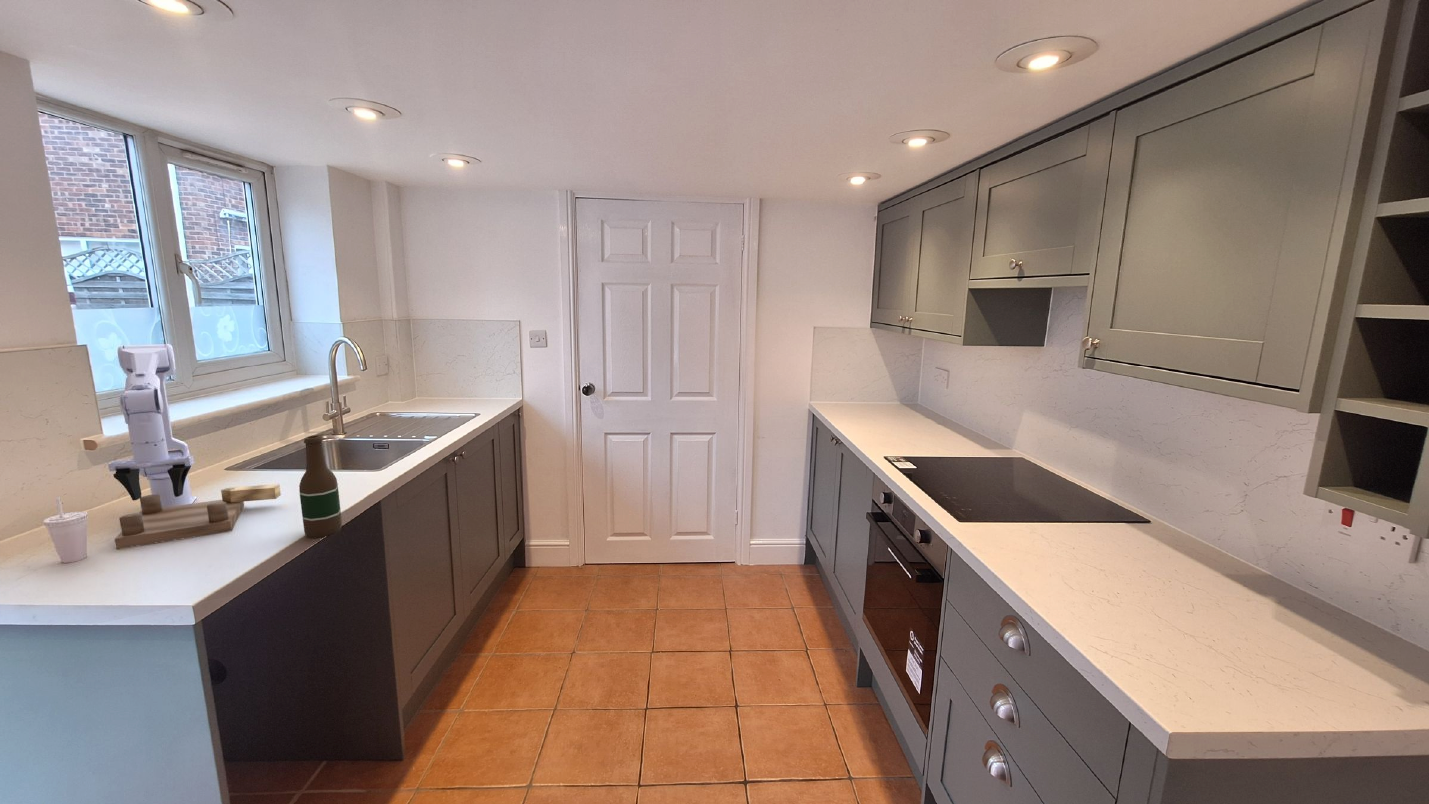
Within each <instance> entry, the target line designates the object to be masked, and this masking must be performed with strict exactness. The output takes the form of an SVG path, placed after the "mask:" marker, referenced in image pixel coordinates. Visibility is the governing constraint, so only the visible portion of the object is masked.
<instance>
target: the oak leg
mask: <svg viewBox="0 0 1429 804" xmlns="http://www.w3.org/2000/svg"><path fill="white" fill-rule="evenodd" d="M280 486H281V484H280V483H277V484H276V483H273V484H262V485H261V484H260V485H259V484H258V485H246V486H235V487H225V488H222V489H220V492H221V498H222V499H221V500H222V501H223V502H226V503H228V502H244V503H245V502H253V501H255V502H257V501H265V500H266V501H267V500H276V499H278V498H279V497H281V495H282V494H281V492H282V491H281V487H280Z"/></svg>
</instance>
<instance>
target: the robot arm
mask: <svg viewBox="0 0 1429 804" xmlns="http://www.w3.org/2000/svg"><path fill="white" fill-rule="evenodd" d="M117 358H118V362H119V366H120V368H121V369H122V371H123V372H124V374H125V375H126V376H127V377H126V378H125V386H124V393H122V392H121V393H120V394H119V399H118V400H119V405H120V410H121V412H122V415H123V417H124V422H125V424H126V425H127V429H128V435H129V441H130V445H131V451H132V456H133V457H132V458H131V459H124V460H123V459H122V460H121V459H120V460H113V461H111V462H108V464H107V466H108V470H109V472H115V473H113V478H114V479H115V480H117V481H118V482H119V484H121V485H122V486H123V487H124V488H125V490H126V492H127V493H128V494H129V496H130V498H131V500H132V501H137V500H140V498H141V497H142V488H141V484H140V476H142V477H143V478H146V480H147V481H148V482H149V488H150V495H153V494H159V495H160V499H161V505H162V508H164V507H171V506H178V505H186V504H193V503H194V502H195V501H196V499H197V496H192V490H191V484H190V479H189V476H188V474H189V472H190V470H192V466H193V465H194V464H195V460H194V459H195V458H194V455H191V452H190V450H189V445H188V444H187V443H186V442H185V441H182V440H180V439H177V438H176V437H175V438H174V437H173V431H172V430H173V429H172V424H171V416H170V411H169V410H170V409H169V403H168V396H167V389H166V382H167V379H168V377H170V376H173V375H176V361H175V360H176V359H175V353H174V349H173V346H172V345H171V344H170V343H164V344H160V343H159V344H133V345H132V344H129V345H127V344H126V345H125V344H120V345H119V346H118V347H117Z"/></svg>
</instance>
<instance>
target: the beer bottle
mask: <svg viewBox="0 0 1429 804" xmlns="http://www.w3.org/2000/svg"><path fill="white" fill-rule="evenodd" d="M323 440H324V439H323V437H322V436H321V435H310V436H306V437H304V440H303V443H304V444H305V461H306V462H305V463H306V464H305V465H306V466H305V472H304V473H303V474H302V477H301V480H300V481H299V486H298V487H299V489H298V490H299V500H300V507H301V515H302V523H303V530H304V535H305V536H306V537H309V538H313V539H316V538H325V537H329V536H332V535H335V534H337V533H340V531H341V529H342V528H343V527H342V526H343V525H342V523H343V522H342V511H341V501H340V494H339V483H338V480H337V477H336V475H335V473H334V472H333V471H332V470H330V469H329V467H328V466H327V462H326V457H325V452H324V447H323V443H322V442H323Z"/></svg>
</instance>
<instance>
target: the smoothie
mask: <svg viewBox="0 0 1429 804" xmlns="http://www.w3.org/2000/svg"><path fill="white" fill-rule="evenodd" d="M55 502H56V504H57V505H56V506H57V511H58V514H56V515H52V516H49V517H47V518H45V519H44V520H43V521H42V522H43V527H46V529H47V531H48V534H49V536H50V538H51V541H52V543H53V545H54V548H55V549H56V550H55V551H56V552H57V554H58V558H59V559H60V563H63V564H67V563H74V562H78V561H82V560H84V559H86V558H87V557H88V532H87V531H88V530H87V529H88V524H87V523H88V522H87V520H88V519H89V517H90V516H89V515H88V512H87V511H70V512H65V513H64V511H63V507H62V502H61V497H56V498H55Z"/></svg>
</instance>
